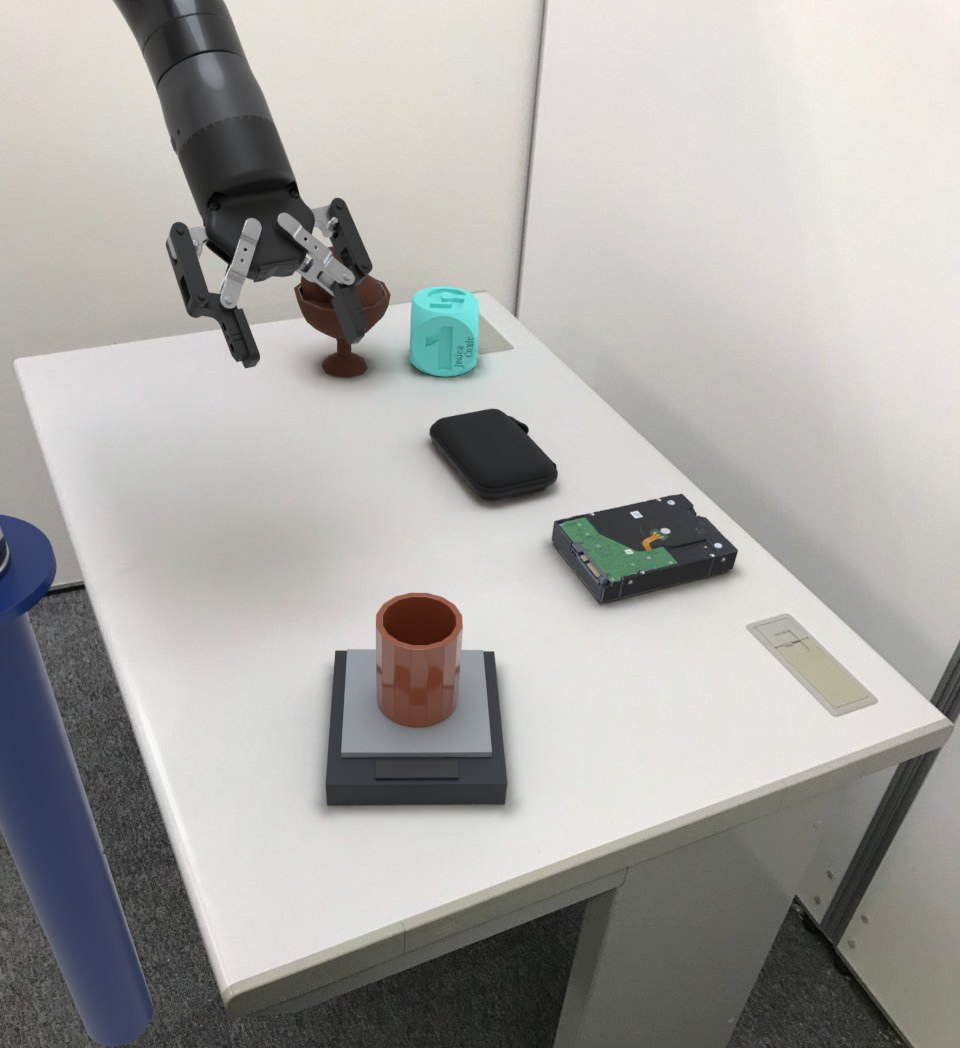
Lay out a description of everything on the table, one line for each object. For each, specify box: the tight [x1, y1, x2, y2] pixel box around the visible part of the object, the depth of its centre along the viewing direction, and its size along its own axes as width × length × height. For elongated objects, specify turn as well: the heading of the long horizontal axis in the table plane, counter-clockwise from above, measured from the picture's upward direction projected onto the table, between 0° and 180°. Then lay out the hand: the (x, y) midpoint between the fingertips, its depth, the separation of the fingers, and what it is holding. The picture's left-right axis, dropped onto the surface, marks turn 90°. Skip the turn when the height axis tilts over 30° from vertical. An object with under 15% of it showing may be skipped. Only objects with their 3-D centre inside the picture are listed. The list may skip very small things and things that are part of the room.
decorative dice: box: [409, 285, 480, 378], centre depth 122 cm, size 8×8×8 cm
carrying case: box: [428, 408, 559, 502], centre depth 107 cm, size 11×3×15 cm
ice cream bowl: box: [293, 245, 391, 378], centre depth 117 cm, size 11×11×15 cm
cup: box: [375, 592, 464, 728], centre depth 74 cm, size 6×6×8 cm
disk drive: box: [551, 493, 739, 603], centre depth 96 cm, size 10×3×15 cm
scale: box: [325, 648, 508, 807], centre depth 77 cm, size 13×14×3 cm
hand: (306, 352), depth 74 cm, fingers open, 8 cm apart
